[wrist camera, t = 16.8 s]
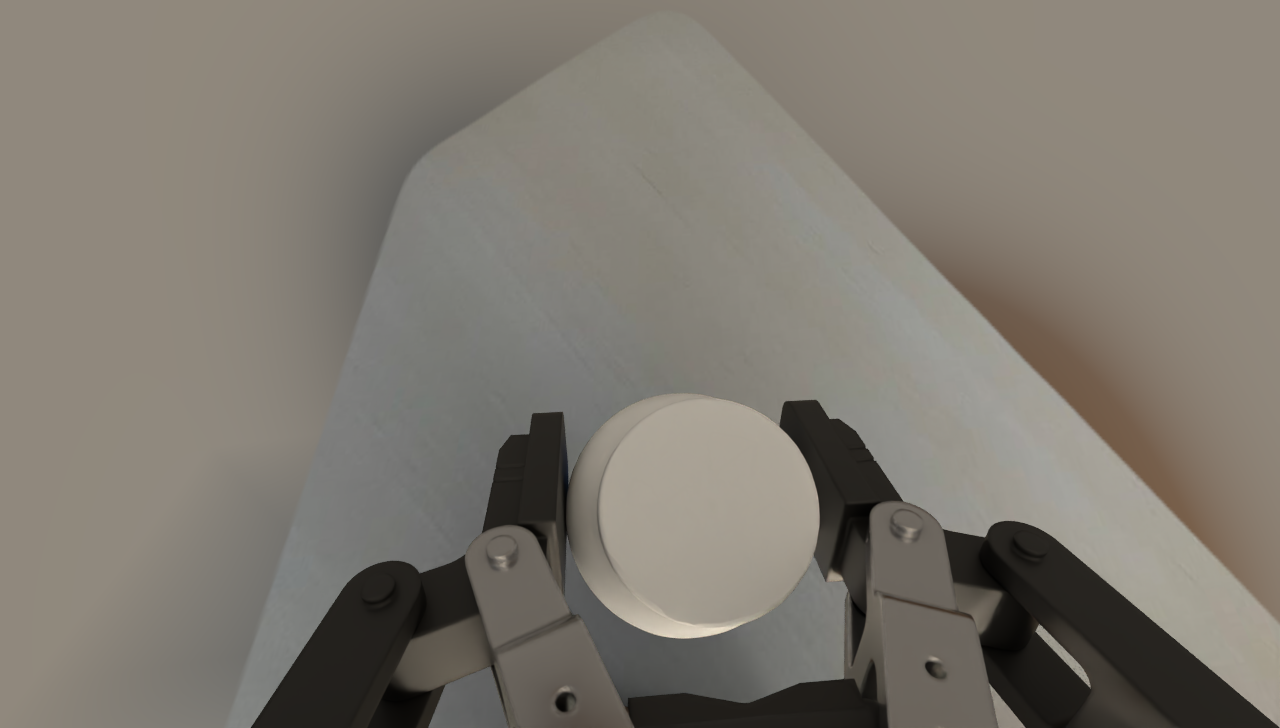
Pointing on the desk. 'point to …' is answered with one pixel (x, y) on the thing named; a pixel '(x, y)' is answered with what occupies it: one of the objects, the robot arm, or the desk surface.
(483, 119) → the desk surface
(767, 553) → the pill bottle
